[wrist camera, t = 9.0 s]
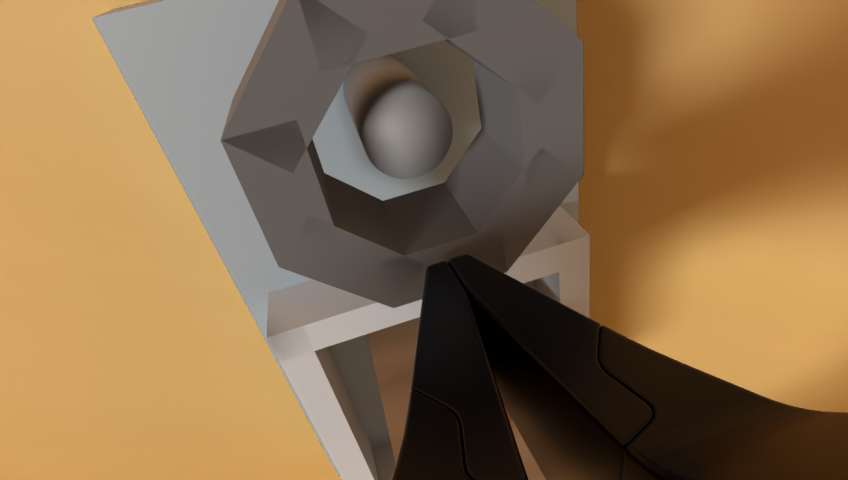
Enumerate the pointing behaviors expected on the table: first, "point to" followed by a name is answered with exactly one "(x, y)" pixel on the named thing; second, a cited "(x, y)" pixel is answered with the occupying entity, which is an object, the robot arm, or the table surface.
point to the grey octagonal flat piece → (430, 207)
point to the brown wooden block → (394, 381)
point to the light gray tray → (340, 158)
